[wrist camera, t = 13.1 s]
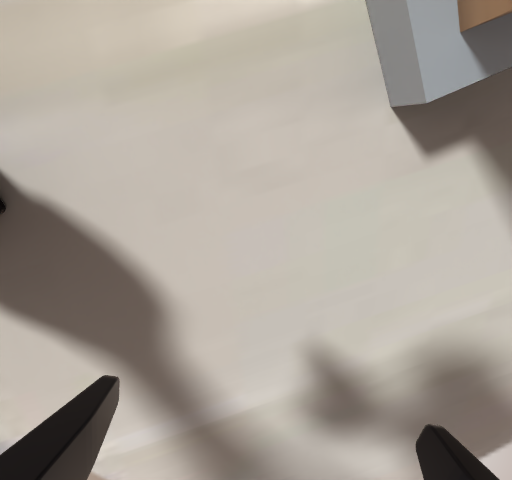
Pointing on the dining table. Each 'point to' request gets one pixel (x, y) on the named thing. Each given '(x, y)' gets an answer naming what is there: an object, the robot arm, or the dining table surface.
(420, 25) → the grey slab
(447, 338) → the dining table surface
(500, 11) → the walnut block
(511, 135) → the dining table surface
